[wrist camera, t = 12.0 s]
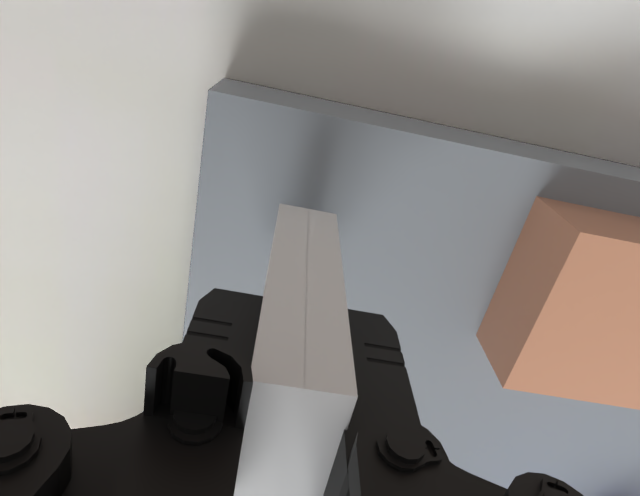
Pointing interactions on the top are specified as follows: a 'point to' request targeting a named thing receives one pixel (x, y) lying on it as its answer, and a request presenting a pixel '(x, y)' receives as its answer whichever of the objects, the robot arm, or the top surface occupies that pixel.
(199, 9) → the top surface
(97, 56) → the top surface
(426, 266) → the board
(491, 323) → the tile
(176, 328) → the top surface
